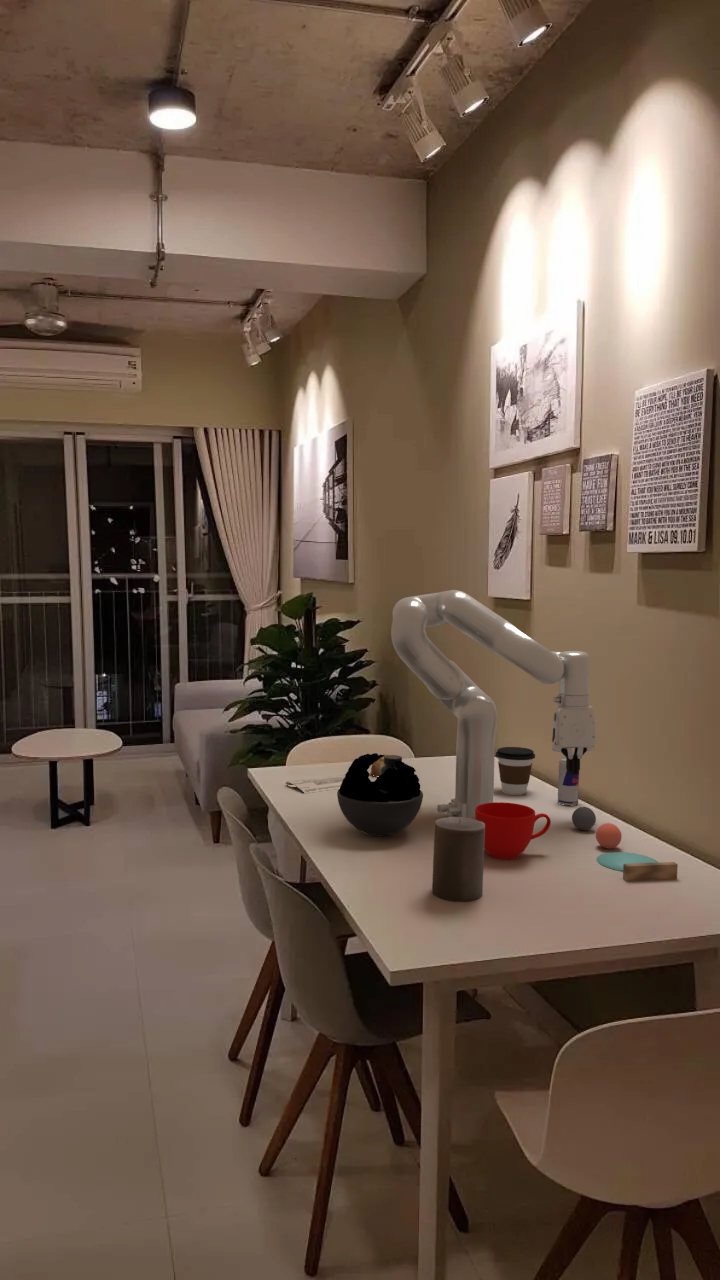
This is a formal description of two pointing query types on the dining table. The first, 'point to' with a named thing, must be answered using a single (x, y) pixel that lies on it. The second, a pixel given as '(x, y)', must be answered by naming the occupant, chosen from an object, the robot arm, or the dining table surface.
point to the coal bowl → (379, 797)
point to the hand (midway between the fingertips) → (573, 773)
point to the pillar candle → (458, 859)
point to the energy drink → (567, 785)
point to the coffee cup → (515, 769)
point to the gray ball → (583, 818)
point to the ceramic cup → (508, 828)
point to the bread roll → (377, 766)
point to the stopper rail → (650, 871)
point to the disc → (622, 859)
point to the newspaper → (318, 783)
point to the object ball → (608, 835)
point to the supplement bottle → (390, 762)
